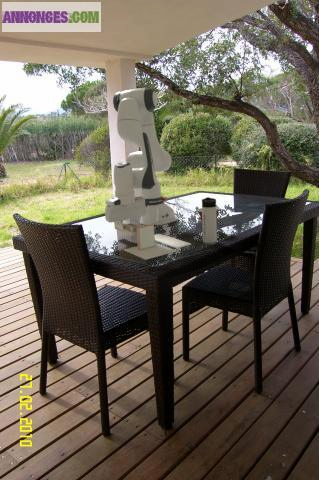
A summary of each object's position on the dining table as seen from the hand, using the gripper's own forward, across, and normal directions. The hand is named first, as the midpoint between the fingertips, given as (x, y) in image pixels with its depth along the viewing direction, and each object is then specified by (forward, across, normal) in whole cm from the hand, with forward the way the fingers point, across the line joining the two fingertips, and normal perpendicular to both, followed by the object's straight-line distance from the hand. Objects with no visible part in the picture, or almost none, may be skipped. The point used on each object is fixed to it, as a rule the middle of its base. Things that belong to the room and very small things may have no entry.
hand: (127, 228), depth 183 cm
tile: (+6, 0, +15) cm, 17 cm away
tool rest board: (+7, -13, +13) cm, 20 cm away
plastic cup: (+7, -38, +13) cm, 41 cm away
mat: (+7, +1, +19) cm, 21 cm away
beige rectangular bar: (+2, 0, 0) cm, 2 cm away
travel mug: (+7, -26, +27) cm, 38 cm away
